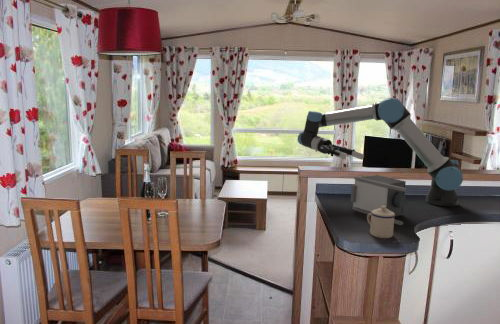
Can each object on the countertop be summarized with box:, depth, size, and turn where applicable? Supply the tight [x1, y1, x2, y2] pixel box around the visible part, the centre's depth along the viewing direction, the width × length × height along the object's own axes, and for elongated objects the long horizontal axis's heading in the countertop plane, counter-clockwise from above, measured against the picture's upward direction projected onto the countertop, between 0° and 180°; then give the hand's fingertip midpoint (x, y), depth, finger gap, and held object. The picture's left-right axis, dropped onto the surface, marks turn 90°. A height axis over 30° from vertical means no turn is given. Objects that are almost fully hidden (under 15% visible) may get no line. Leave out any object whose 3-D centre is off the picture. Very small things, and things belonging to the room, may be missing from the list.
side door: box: [350, 179, 388, 212], centre depth 183 cm, size 3×18×13 cm, turn 33°
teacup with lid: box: [366, 206, 395, 239], centre depth 158 cm, size 12×9×12 cm
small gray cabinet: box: [351, 174, 407, 226], centre depth 183 cm, size 14×27×16 cm, turn 33°
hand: (354, 156), depth 190 cm, fingers open, 13 cm apart
